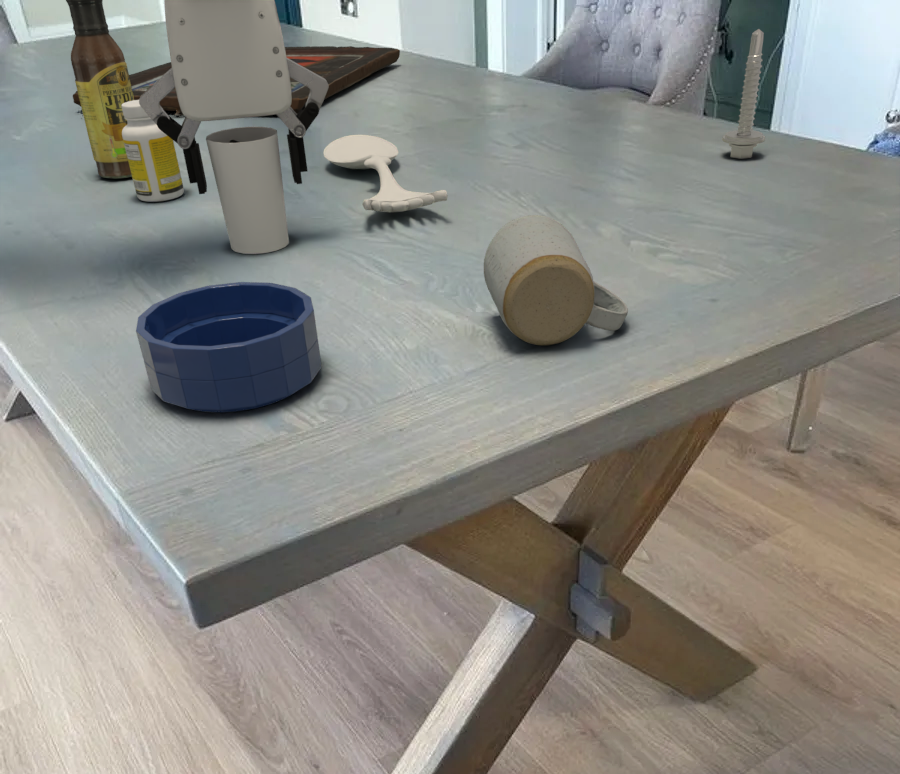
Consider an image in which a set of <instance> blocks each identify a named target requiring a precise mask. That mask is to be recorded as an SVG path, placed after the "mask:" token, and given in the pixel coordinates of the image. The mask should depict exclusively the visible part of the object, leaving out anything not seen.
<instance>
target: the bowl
mask: <svg viewBox="0 0 900 774" xmlns="http://www.w3.org/2000/svg"><path fill="white" fill-rule="evenodd" d="M316 323H317V322H316V315H315V309H314V305H313V301H312V297H311V296H309V295H308V294H306V293H305V292H303V291H301V290H300V289H299V288H296V287H293V286H289V285H284V284H279V283H274V282H263V281H262V282H260V281H259V282H257V281H255V282H254V281H237V282H236V281H235V282H227V283H220V284H219V283H218V284H210V285H205V286H201V287H198V288H193V289H189V290H186V291H181V292H178V293H176V294H173V295H171V296H169V297H167V298H164V299H162V300H160V301H158V302H155V303H153V304H151V305H150V306H149V307H148V308H146V310H145V311H143V312H142V313H141V314H140V315H139V316H138V317H137V322H136V328H135V332H136V337H137V341H138V344H139V349H140V352H141V356H142V359H143V363H144V367H145V370H146V371H145V372H146V374H147V379H148V381H149V386H150V390H152V391H153V393H155V395H156V396H158V398H160V399H161V401H163V402H164V403H168V404H171V405H174V406H178V407H180V408H184V409H187V410H192V411H198V412H204V413H235V412H243V411H247V410H249V411H250V410H255V409H259V408H262V407H265V406H269V405H272V404H275V403H277V402H280V401H282V400H285V399H287V398H289V397H290V396H293V395H294V394H296V393H297V392H299V390H301V389H303V388H304V387H306V386H308V385H309V384H311V383H312V382H313V381H314V379H315V378H316V377H317V375H318V373H319V372H320V371H321V370H322V367H323V366H322V358H321V352H320V344H319V339H318V337H319V336H318V330H317V324H316Z"/></svg>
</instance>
